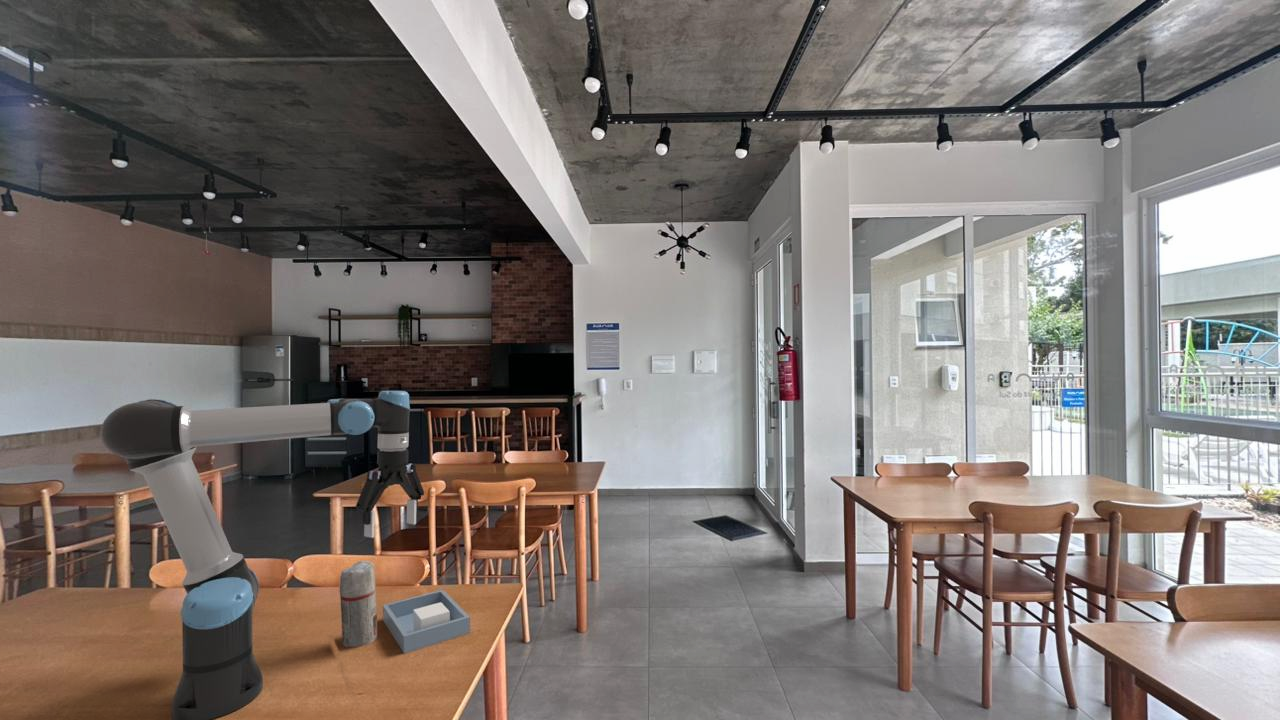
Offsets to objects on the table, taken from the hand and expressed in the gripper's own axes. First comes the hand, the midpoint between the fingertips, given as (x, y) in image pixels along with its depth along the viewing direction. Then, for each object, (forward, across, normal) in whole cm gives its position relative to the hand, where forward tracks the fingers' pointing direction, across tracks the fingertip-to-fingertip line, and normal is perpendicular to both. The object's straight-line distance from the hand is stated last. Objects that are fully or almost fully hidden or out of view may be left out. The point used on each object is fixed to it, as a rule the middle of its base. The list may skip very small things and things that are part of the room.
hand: (391, 530), depth 145 cm
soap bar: (+25, +1, -14) cm, 28 cm away
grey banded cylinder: (+27, -8, +1) cm, 28 cm away
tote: (+26, +4, -9) cm, 28 cm away
